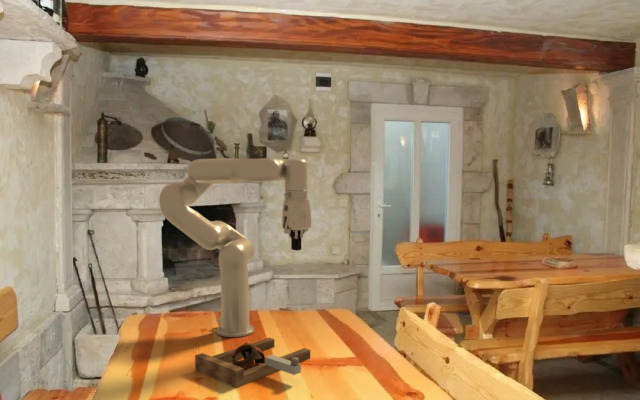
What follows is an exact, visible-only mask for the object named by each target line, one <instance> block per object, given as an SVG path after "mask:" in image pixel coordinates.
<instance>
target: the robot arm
mask: <svg viewBox="0 0 640 400" xmlns="http://www.w3.org/2000/svg"><path fill="white" fill-rule="evenodd" d="M186 171H187V176H186V178H185V179H184V180H183V181H177V182H176V181H175V182H171V183H169V184H166V185H165V186H164V187H163V188H162V189H161V192H160V193H159V197H158V199H159V202H158V203H159V204H158V205H159V207H160V208H159V209H160V211H161V213H162V215H163V216H164V218H165V219H166V220H167V221H168V222H170V224H172V225H173V226H174V227H176V228H177V229H178V230H179V231H181V232H182V233H184V234H185V235H186V236H187V237H188V238H190V239H191V240H192V241H194V242H195V243H196V244H198V245H199V246H200V247H202V248H203V249H205V250H207V251H208V250H209V251H212V250H216V249H217V250H219V254H218V266H219V273H220V274H219V275H220V309H221V311H220V312H221V315H220V316H219V317H218V318H216V323H219V327H218V328H217V329H216V333H217V334H218V335H219V336H221V337H226V338H238V337H245V336H248V335H251V334H252V333H253V332H254V331H255V330H254V329H255V328H254V326H253V325H251V324H250V293H249V292H250V285H249V283H250V282H249V271H248V263H250V262H251V261H252V260H253V258H254V257H255V250H256V249H255V247H254V244H253V243H252V241H250V240H249V238H247V237H245V235H243V234H242V233H240V232H238V230H237V229H234V227H232V226H231V225H229V224H227V223H226V222H224V221H222V220H214V221H213V220H212V221H211V220H209V219H208V218H206V217H204V216H203V215H202V214H201V213H199V212H198V211H197V210H195V209H194V208H192V207H190V206H189V205H192V204H193V203H195V202H196V201H197V200H199V199H200V198H201V196H202V195H204V193H205V192H207V190H208V189H210V188H211V186H212V185H213V184H237V183H245V182H246V183H248V182H277V181H282V180H283V181H284V194H283V197H284V200H283V206H282V212H281V213H282V214H281V218H282V219H281V220H282V221H281V222H282V223H281V224H282V225H281V226H282V229H283V234H286V235H288V236H289V238H290V239H291V241H290V243H291V244H290V245H291V251H301V250H302V238H304V237H303V236H304V234H305V233H306V232H308V231H309V229H310V228H311V227H312V213H311V211H312V210H311V205H310V200H309V199H308V162H307V161H306V160H305V159H302V158H289V159H280V158H279V159H278V158H271V157H269V158H268V157H267V158H236V157H231V158H230V157H229V158H228V157H227V158H201V159H200V158H199V159H194V160H192V161H191V162H190V163H189V165H188V166H187V169H186Z"/></svg>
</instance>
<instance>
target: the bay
mask: <svg viewBox="0 0 640 400" xmlns="http://www.w3.org/2000/svg"><path fill="white" fill-rule="evenodd" d="M250 344H253V345H254V346H255V347H258V348H259V349H261V351H262V352H264V351H266V350H270V349H272V348H275V339H274V338H271V337H268V338H267V337H266V338H263V339H261V340H257V341H255V342H252V343H250ZM237 348H238V347H236V348H233V349H230V350H228V351H227V350H226V351H224V352H221V353H219V354H216V355H215V354H214V355H212V356H211V355H208V354H206V353H203V352H201V353H198V354H195V355H194V362H195V363H194V367H195V369H194V370H195V372H198V373H199V374H200V373H201V374H202V375H204V376H207V377H209V378H212V379H215V380H216V381H219V382H222V383H225V384H226V385H229V386H231V387H234V388H239V387H242V386H244V385H247V384H249V383H251V382H254V381H256V380H260V379H262V378H264V377H267V376H269V375H272V374H274V373H276V372H279V371H280V370H279V369H276V368H273V367H270V366H267V365H265V363H263V364H257V365H255V367H253V366H252V367H249V368H246V369H244V368H241V367H239V366H236V365H233V364H232V360H233V358H232V354H233V352H234V351H235V350H236V349H237ZM251 350H253V349H251ZM279 357H280V358H283V359H286V360H289V361H291V358H293V357H297V358H299V363H301V362H304V361H306V360H309V359H311V349H308V348H306V347H303V348H301V349H299V350H295V351H292V352H291V353H287V354H285V355H282V356H279ZM240 359H241V360H242V359H244V357H243V356H242V354H241V351H240V352H239V353H238V354H237V355H236V357H235V360H237V361H239V360H240Z"/></svg>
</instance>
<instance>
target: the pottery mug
mask: <svg viewBox="0 0 640 400" xmlns="http://www.w3.org/2000/svg"><path fill="white" fill-rule="evenodd" d="M236 348H237V349H236ZM236 348H235V349H236V350H235V351H234V352H233V354H232V358H233V360H232V362H231V364H233V365H236V366H239V367H241V368H244V370H247V369H249V368H251V367H252V368H253V367H255V366H256V365H261V364H263V363H265V357H266V356H265V354H264V351H261V349H259V348H258V347H255V346H254V345H253V344H251V343H248V342H244V343H242V344H240V345H239V346H238V347H236ZM251 349H253V350H251ZM240 351H241V354H242V356H243V357H244V358H243V359H241V360H235V357H236V355H237V354H238V353H239V352H240Z"/></svg>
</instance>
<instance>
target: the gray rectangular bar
mask: <svg viewBox="0 0 640 400" xmlns="http://www.w3.org/2000/svg"><path fill="white" fill-rule="evenodd" d="M280 357H281V356H277V355H273V354H269V355H267V356H265V365H267V366H270V367H273V368H276V369H279V371H281V372H285V373H286V374H287V373H288V374H290V375H293V376H295V375H298V374H301V371H302V370H301V369H302V367H301V363H300V362H299V358H297V357H293V358H291V361H289V360H286V359H283V358H280Z"/></svg>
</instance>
